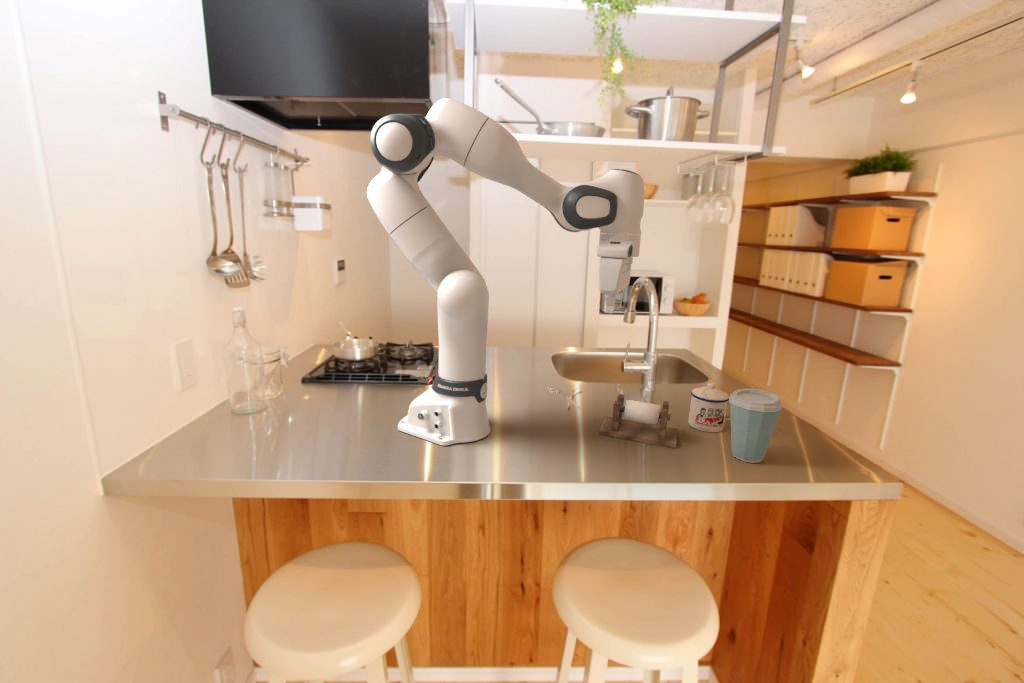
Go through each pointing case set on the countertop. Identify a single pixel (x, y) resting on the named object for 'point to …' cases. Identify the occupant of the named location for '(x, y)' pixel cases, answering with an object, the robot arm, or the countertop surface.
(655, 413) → the paper roll
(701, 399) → the teacup with lid
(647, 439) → the roll holder
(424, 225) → the robot arm
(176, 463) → the countertop surface
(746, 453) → the disposable coffee cup
